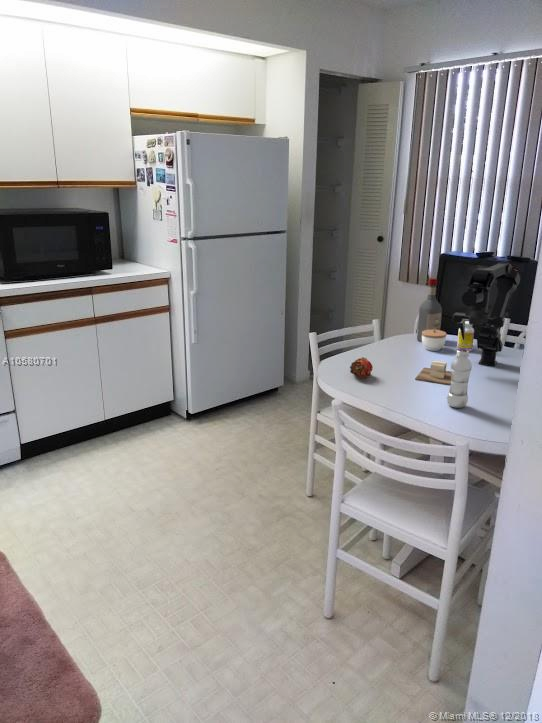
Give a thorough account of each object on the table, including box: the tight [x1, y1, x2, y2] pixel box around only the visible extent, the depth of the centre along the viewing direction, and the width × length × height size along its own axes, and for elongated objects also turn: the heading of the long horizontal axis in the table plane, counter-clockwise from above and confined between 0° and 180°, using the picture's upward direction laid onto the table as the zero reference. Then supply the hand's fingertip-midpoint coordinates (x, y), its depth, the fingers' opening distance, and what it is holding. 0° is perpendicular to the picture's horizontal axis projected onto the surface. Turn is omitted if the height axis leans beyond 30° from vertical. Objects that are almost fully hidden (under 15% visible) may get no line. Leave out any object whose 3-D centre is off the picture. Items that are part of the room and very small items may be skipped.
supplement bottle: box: [456, 321, 475, 352], centre depth 238 cm, size 7×7×13 cm
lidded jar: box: [421, 329, 447, 352], centre depth 241 cm, size 11×11×9 cm
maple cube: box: [430, 360, 448, 379], centre depth 207 cm, size 5×5×5 cm
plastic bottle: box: [446, 349, 473, 409], centre depth 178 cm, size 6×7×20 cm
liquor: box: [416, 277, 443, 343], centre depth 250 cm, size 9×9×30 cm
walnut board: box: [415, 367, 451, 386], centre depth 208 cm, size 14×14×1 cm
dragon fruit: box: [349, 356, 374, 379], centre depth 208 cm, size 8×8×12 cm
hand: (475, 340), depth 209 cm, fingers open, 9 cm apart
